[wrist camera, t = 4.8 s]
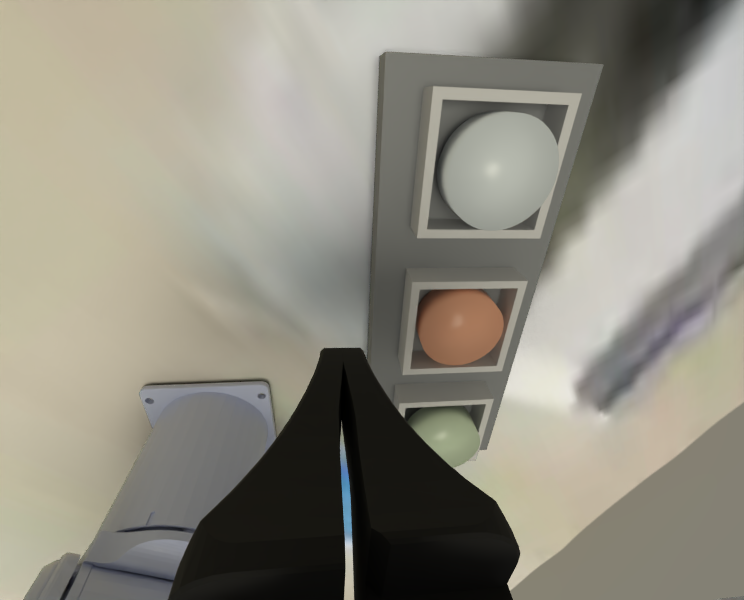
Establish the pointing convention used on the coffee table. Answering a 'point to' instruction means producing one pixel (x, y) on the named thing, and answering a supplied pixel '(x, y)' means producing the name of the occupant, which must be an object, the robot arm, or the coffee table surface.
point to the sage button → (447, 432)
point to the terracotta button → (458, 325)
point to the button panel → (457, 218)
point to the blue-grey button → (498, 169)
